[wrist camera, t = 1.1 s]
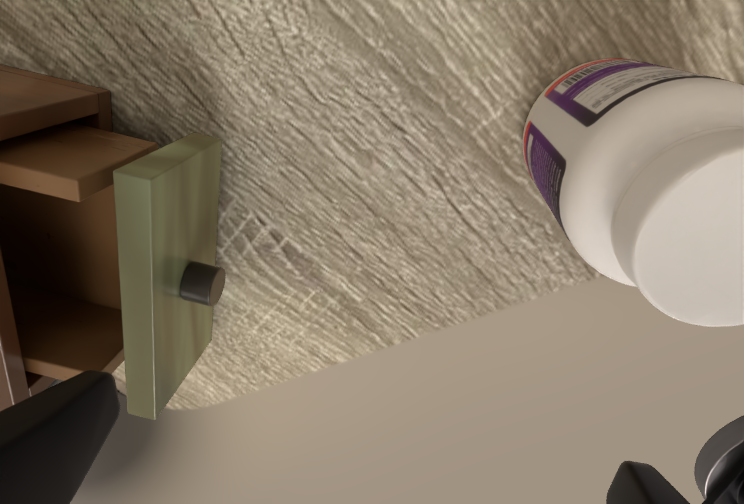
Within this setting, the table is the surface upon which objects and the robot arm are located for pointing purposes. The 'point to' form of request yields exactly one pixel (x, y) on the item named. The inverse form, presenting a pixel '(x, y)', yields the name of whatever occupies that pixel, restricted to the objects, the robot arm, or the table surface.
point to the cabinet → (17, 117)
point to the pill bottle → (648, 181)
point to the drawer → (111, 254)
